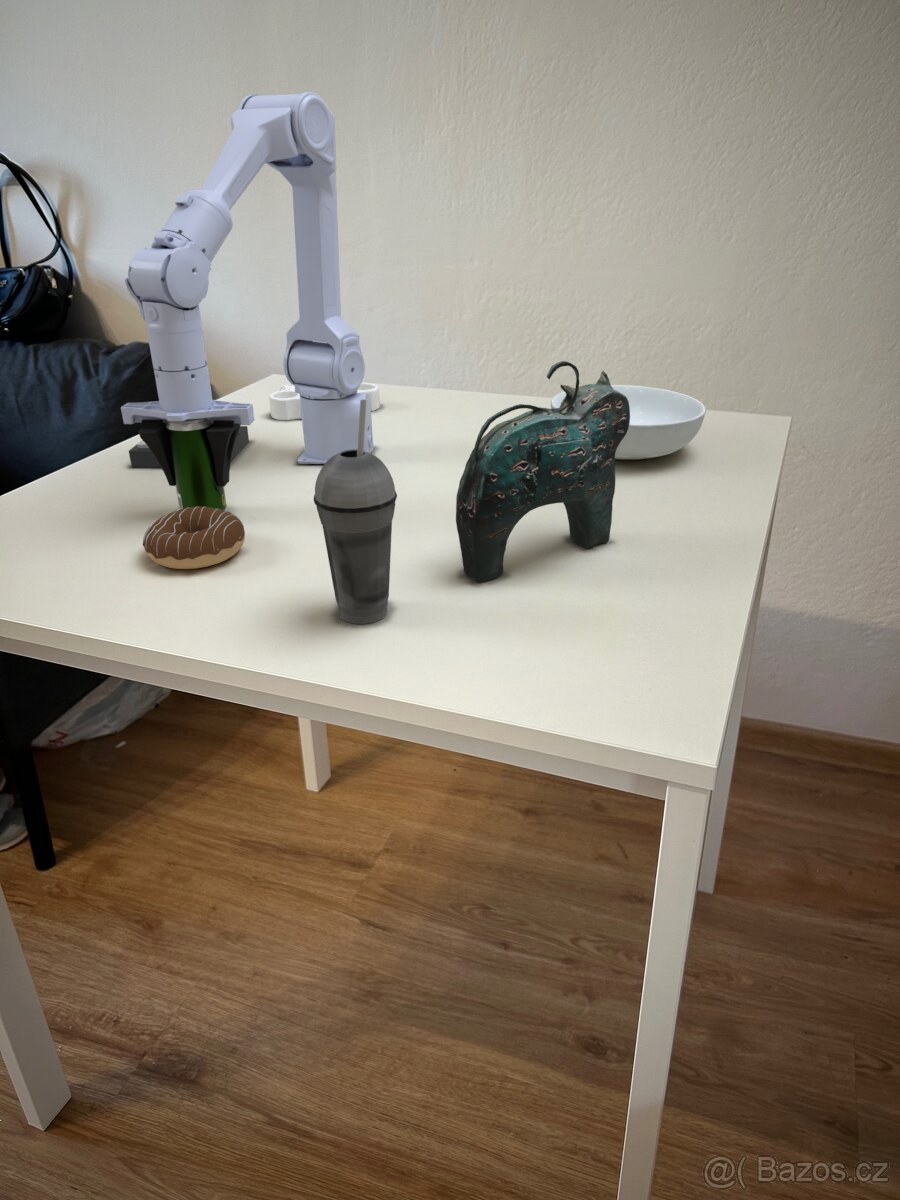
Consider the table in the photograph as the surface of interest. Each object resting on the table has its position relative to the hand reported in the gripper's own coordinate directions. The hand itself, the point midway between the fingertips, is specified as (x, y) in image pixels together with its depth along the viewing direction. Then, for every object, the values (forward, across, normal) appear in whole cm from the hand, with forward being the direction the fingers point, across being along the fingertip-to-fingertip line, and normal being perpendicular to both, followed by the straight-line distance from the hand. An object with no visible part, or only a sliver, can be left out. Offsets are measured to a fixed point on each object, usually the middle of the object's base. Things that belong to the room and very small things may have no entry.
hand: (199, 483), depth 101 cm
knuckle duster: (+4, +5, +46) cm, 46 cm away
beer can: (+4, 0, 0) cm, 4 cm away
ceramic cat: (+4, +40, -10) cm, 41 cm away
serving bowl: (+4, +52, +26) cm, 58 cm away
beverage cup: (+4, +23, -23) cm, 33 cm away
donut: (+4, +3, -11) cm, 12 cm away
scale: (+4, -9, +22) cm, 24 cm away
